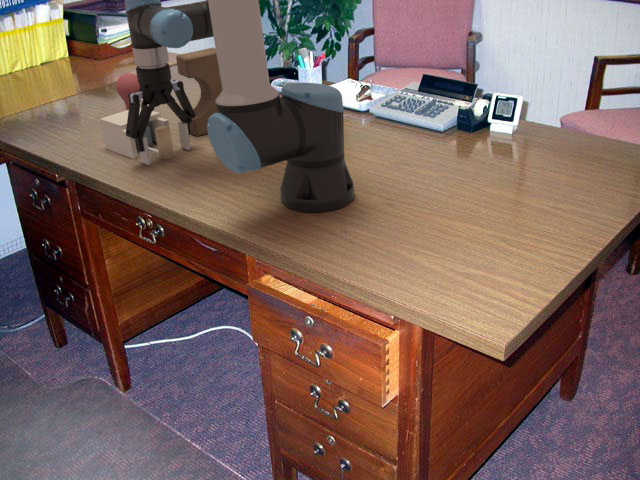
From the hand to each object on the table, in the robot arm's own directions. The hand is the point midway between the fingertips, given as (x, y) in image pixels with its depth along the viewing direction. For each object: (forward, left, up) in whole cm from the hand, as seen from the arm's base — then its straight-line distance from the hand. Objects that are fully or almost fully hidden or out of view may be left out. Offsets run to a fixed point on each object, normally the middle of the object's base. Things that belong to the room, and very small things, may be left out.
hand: (166, 155), depth 170 cm
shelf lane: (+11, +4, 0) cm, 11 cm away
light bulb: (+36, -2, 0) cm, 36 cm away
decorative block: (+13, -16, 0) cm, 20 cm away
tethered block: (+7, +2, 0) cm, 7 cm away
